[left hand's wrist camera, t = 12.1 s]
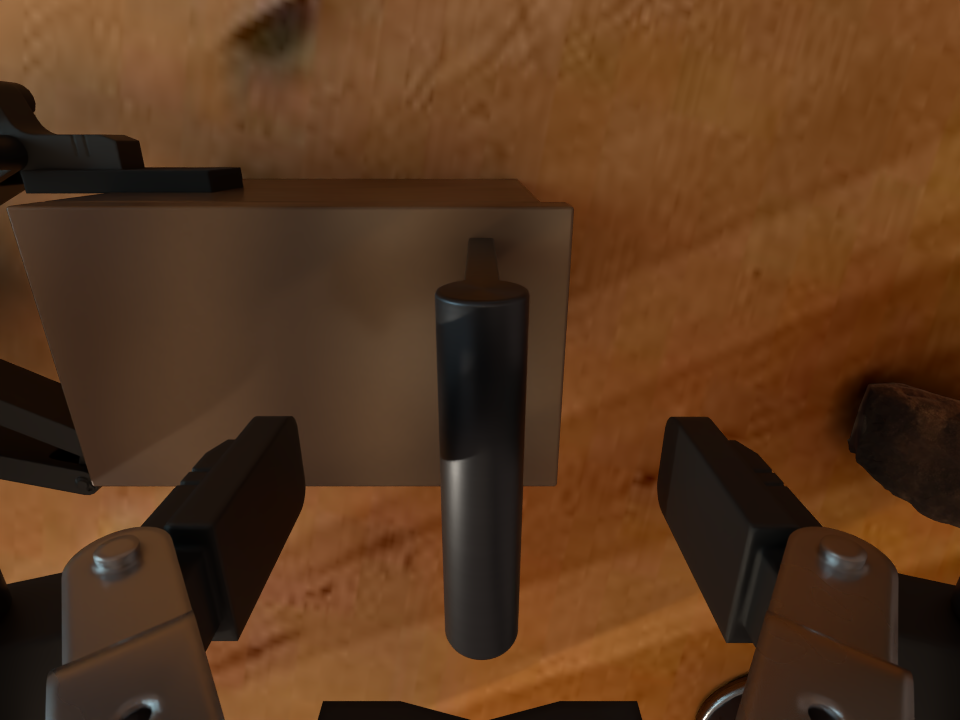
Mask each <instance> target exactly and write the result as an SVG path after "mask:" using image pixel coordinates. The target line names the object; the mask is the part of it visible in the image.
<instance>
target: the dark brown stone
mask: <svg viewBox="0 0 960 720" xmlns="http://www.w3.org/2000/svg"><path fill="white" fill-rule="evenodd" d="M848 444H849V450H850V452H851V453H855V454H856V461H857V463H859V464H860V465H861V466H863V467H864V469H865V470H866V471H867V472H868V473H869V474H870V475H871V476H872V477H873V478H874V479H875V480H876V481H878V482H879V483H880V484H881V485H882V486H883V487H884V488H885V489H887V490H889V491H890V492H891V493H892V494H893V495H895V496H897V497H899V498H901V499H903V500H906V501H908V502H909V503H911V504H912V506H913V507H914V508H915V509H916V510H917V511H918V512H919V513H921V514H922V515H924V516H926V517H928V518H930V519H932V520H935V521H938V522H941V523H946V524H950V525H953V526H956V527H959V528H960V401H959V400H956V399H952V398H948V397H944V396H941V395H938V394H934V393H931V392H928V391H925V390H922V389H919V388H915V387H912V386H909V385H906V384H901V383H877V384H868V387H867V389H866V392H865V394H864V397H863V399H862V401H861V404H860V406H859V409H858V413H857V416H856V420H855V423H854V426H853V430H852V433H851V436H850V439H848Z"/></svg>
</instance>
